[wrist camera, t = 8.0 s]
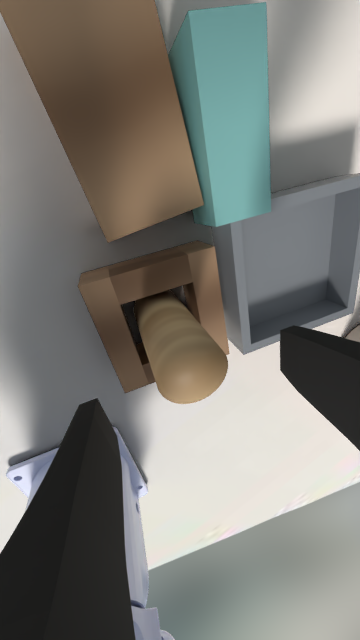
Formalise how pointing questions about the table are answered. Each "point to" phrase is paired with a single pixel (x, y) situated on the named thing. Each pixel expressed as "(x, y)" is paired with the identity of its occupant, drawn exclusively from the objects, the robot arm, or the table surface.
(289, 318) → the tray
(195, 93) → the teal rectangular block
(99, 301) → the socket
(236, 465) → the table surface
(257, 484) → the table surface
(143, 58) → the tan wooden slab
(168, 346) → the dowel
